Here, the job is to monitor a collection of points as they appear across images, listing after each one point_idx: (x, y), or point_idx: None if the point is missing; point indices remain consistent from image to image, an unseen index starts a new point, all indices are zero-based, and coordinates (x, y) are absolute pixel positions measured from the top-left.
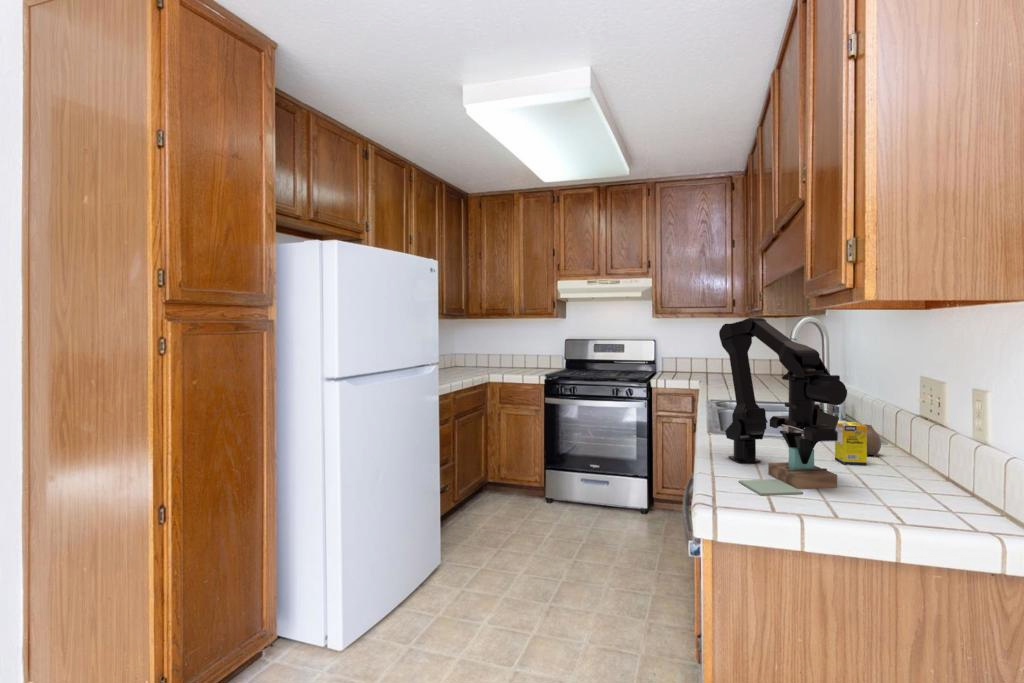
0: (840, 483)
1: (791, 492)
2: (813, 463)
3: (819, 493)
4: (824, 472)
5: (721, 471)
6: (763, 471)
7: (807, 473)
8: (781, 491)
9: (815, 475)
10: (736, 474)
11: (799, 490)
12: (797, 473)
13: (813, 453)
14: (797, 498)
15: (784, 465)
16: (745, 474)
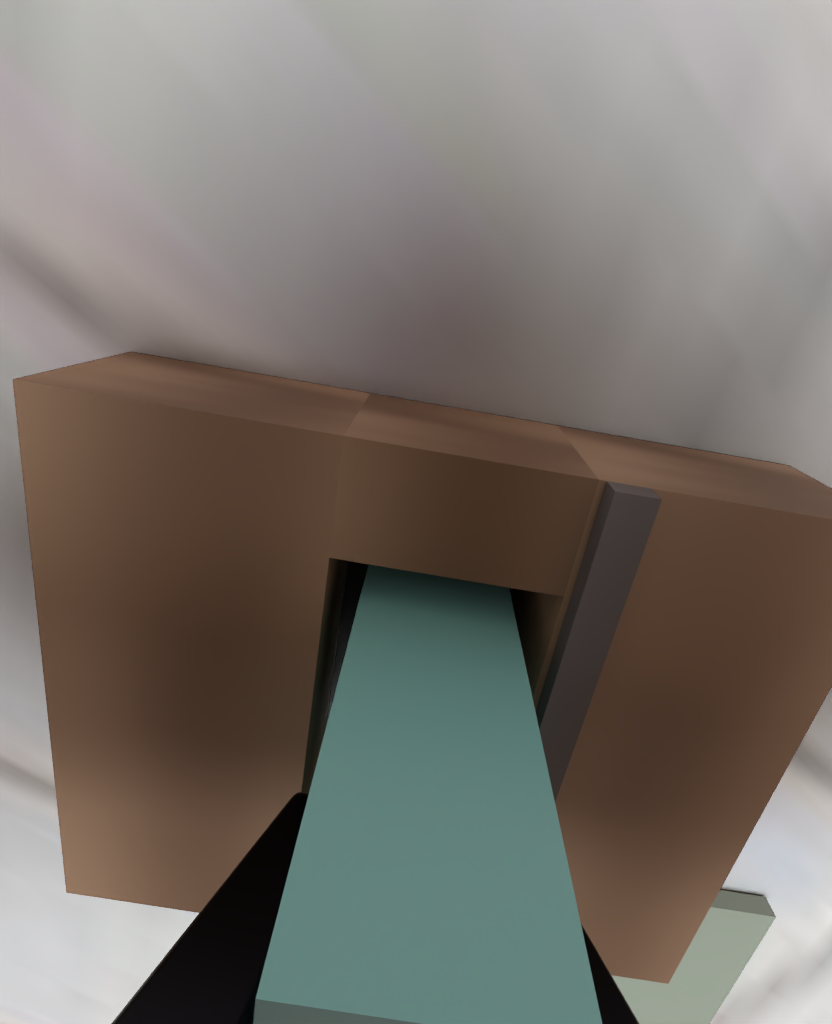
0: (685, 263)
1: (734, 982)
2: (531, 713)
3: (823, 777)
4: (712, 612)
5: (22, 999)
6: (24, 739)
7: (645, 841)
8: (680, 1019)
9: (757, 818)
10: (118, 964)
11: (729, 913)
12: (593, 924)
13: (566, 913)
14: (813, 980)
15: (220, 824)
16: (123, 916)
